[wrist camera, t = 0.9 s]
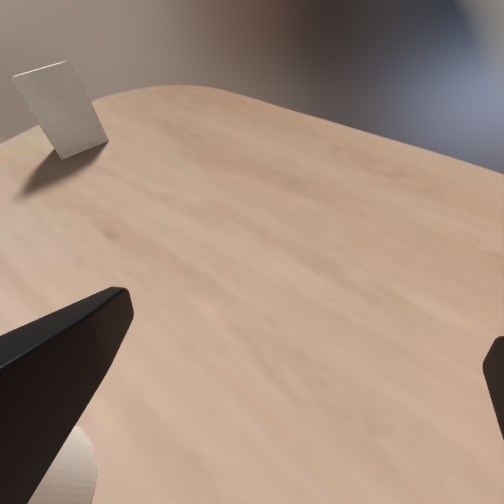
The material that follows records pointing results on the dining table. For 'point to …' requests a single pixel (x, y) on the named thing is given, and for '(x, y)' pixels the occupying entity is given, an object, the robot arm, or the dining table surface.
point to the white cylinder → (69, 473)
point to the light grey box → (61, 108)
